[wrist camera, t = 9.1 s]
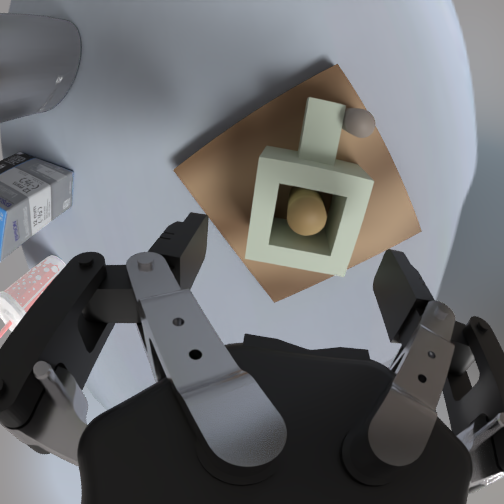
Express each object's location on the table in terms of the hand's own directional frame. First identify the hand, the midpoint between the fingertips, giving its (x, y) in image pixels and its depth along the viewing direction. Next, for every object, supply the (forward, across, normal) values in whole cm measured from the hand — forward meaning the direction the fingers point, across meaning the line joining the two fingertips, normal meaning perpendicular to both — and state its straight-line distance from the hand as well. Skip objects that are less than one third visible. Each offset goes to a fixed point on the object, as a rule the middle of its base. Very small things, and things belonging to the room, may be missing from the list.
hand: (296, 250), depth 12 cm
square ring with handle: (+7, -1, -2) cm, 8 cm away
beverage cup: (+9, +24, +13) cm, 29 cm away
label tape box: (+9, +23, +2) cm, 25 cm away
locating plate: (+8, -1, 0) cm, 8 cm away
